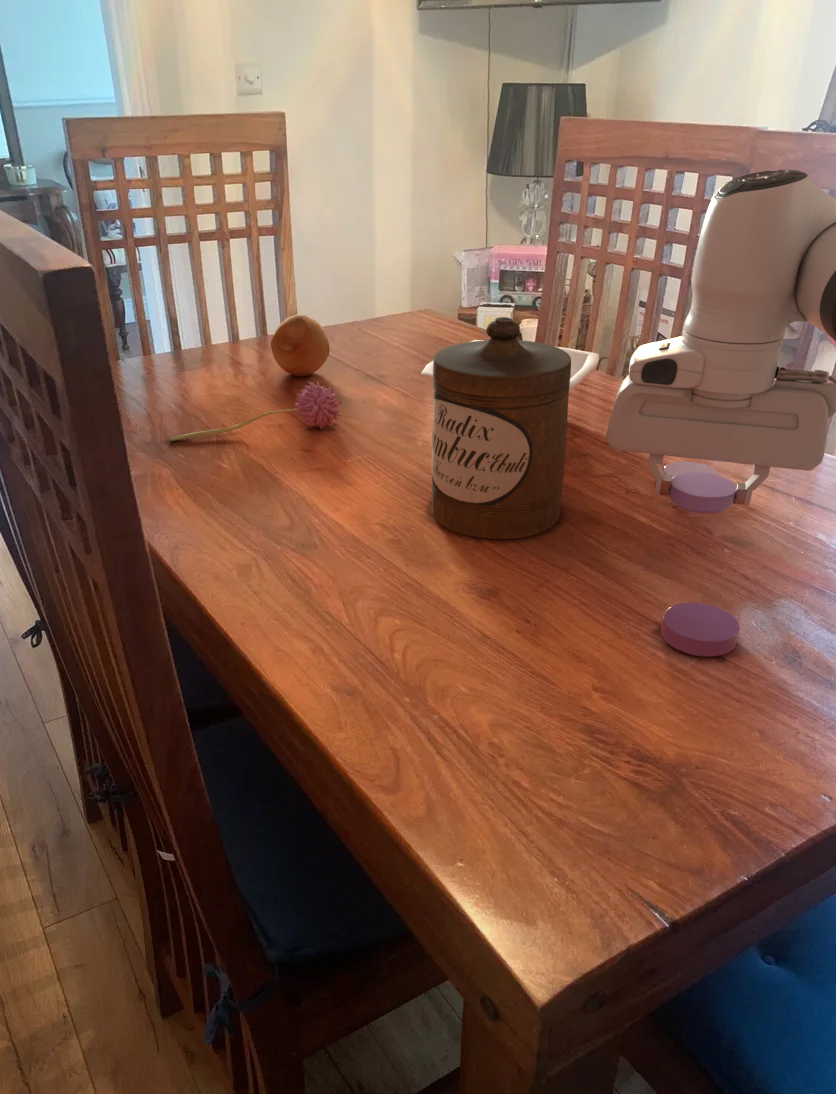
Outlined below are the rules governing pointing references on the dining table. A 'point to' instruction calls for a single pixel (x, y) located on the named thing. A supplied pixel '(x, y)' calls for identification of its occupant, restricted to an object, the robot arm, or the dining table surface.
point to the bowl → (579, 366)
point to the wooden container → (499, 434)
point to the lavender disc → (702, 492)
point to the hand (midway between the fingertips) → (700, 497)
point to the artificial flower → (312, 406)
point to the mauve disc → (700, 629)
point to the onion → (300, 345)
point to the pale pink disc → (688, 468)
